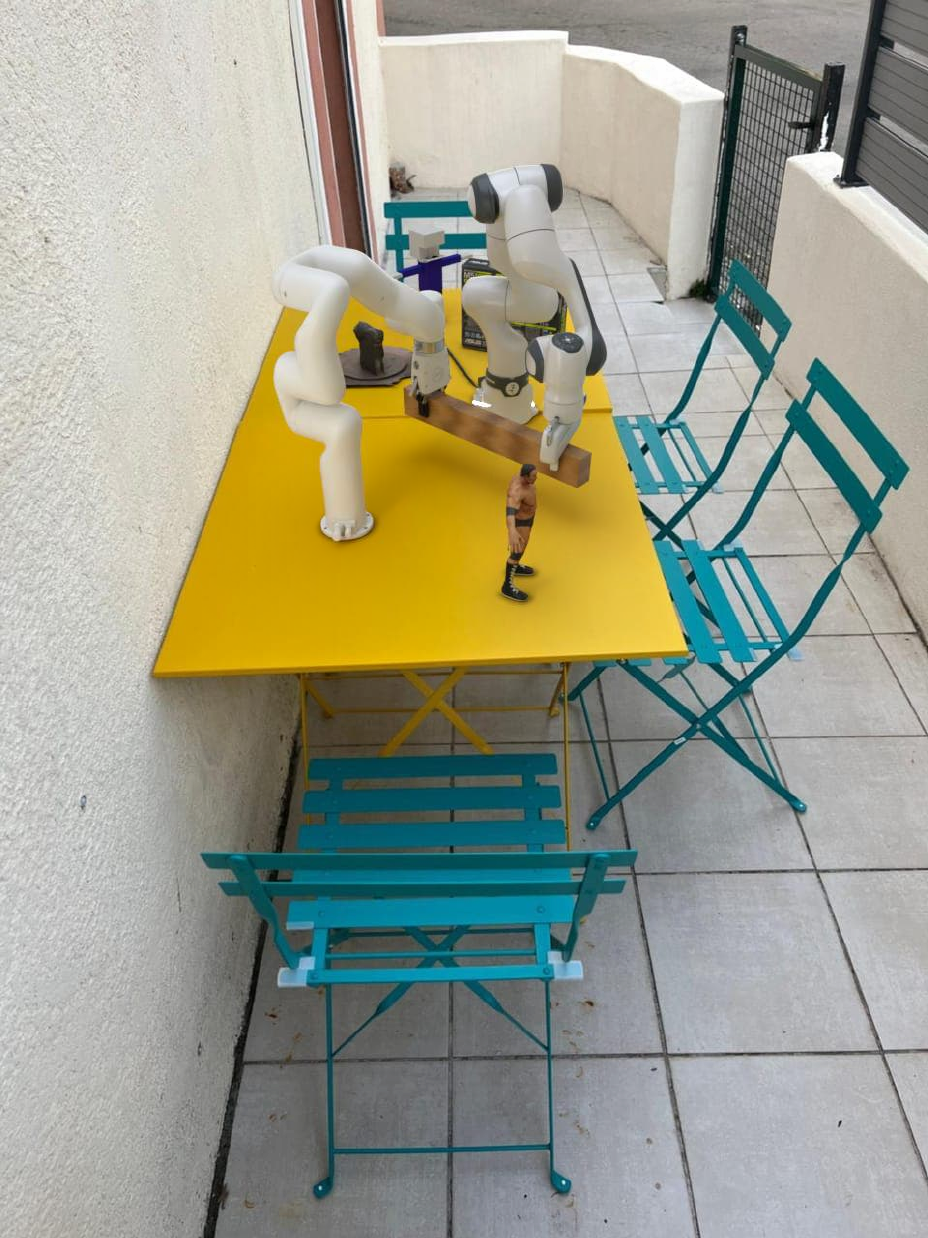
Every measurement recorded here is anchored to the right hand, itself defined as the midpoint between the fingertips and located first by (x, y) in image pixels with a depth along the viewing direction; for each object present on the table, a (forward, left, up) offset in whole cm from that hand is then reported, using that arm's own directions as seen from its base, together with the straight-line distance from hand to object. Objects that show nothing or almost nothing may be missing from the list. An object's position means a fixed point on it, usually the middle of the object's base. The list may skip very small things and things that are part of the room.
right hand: (558, 462), depth 207 cm
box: (-94, +13, -14) cm, 95 cm away
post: (-17, -12, -3) cm, 21 cm away
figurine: (+26, -16, -14) cm, 34 cm away
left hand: (-33, -25, -1) cm, 41 cm away
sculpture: (-91, -35, -14) cm, 98 cm away
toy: (-125, -9, -14) cm, 126 cm away
